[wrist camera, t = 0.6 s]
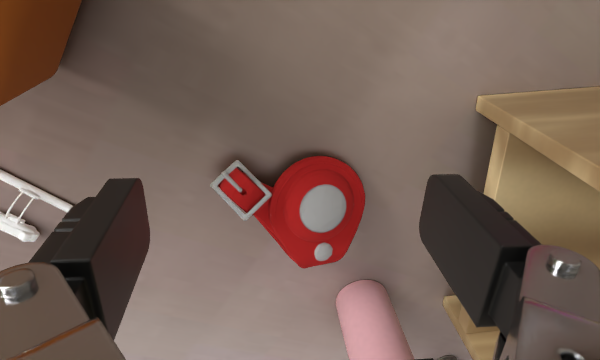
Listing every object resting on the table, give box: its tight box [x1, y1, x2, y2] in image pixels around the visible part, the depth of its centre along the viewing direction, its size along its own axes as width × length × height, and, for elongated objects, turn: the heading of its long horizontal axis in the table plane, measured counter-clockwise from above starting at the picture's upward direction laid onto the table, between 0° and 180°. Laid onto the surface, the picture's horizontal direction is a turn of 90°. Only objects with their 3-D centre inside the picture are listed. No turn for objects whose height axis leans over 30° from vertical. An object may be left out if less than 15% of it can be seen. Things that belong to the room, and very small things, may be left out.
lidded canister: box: [336, 280, 415, 360], centre depth 36 cm, size 6×6×10 cm
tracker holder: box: [210, 156, 365, 268], centre depth 33 cm, size 12×4×10 cm
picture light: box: [0, 169, 73, 242], centre depth 31 cm, size 14×4×2 cm, turn 51°
